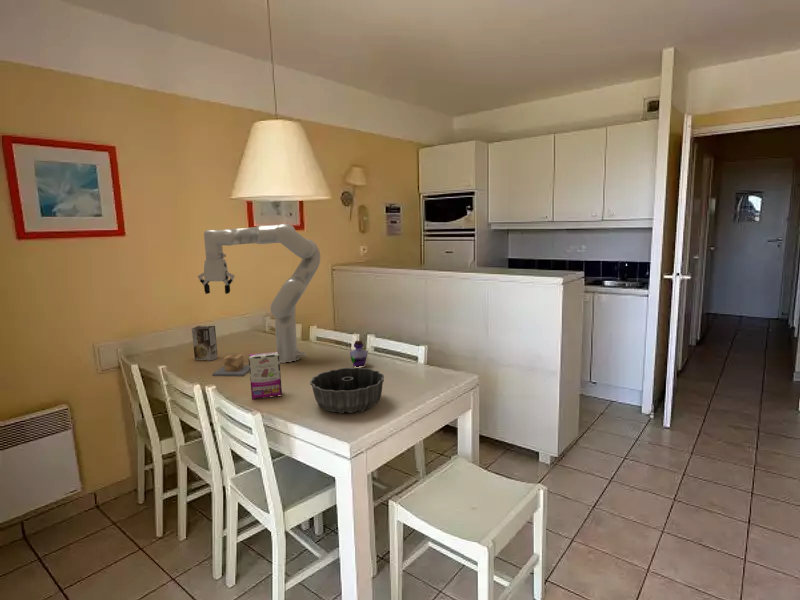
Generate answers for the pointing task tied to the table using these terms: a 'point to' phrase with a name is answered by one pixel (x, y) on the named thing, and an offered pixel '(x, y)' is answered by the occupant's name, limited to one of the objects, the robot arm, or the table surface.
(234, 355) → the oak cube
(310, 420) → the table surface
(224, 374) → the charcoal mat
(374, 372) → the bundt pan
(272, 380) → the candy bar box
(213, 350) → the coffee box
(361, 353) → the potion bottle
